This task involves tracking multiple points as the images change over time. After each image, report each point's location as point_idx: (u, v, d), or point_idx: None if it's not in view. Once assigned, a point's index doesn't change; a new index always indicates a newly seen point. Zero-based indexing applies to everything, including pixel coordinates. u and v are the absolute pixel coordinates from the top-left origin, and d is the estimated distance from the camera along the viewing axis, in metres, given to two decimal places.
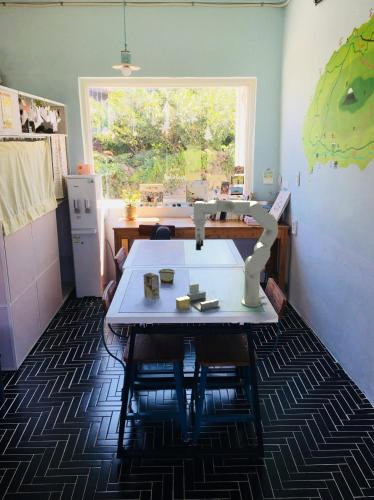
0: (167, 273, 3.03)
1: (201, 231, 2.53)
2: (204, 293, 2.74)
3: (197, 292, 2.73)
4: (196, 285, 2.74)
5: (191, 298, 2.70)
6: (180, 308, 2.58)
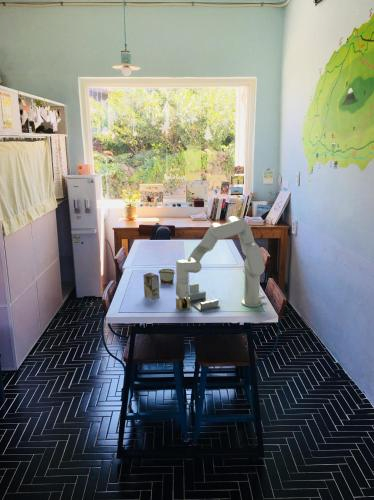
0: (167, 273, 3.03)
1: None
2: (204, 293, 2.74)
3: (197, 292, 2.73)
4: (196, 285, 2.74)
5: (191, 298, 2.70)
6: (180, 308, 2.58)
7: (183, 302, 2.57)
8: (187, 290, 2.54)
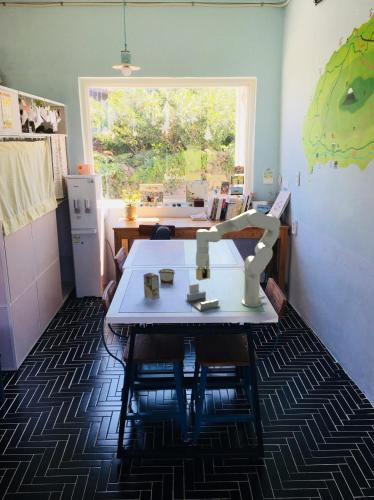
0: (167, 273, 3.03)
1: None
2: (204, 293, 2.74)
3: (197, 292, 2.73)
4: (196, 285, 2.74)
5: (191, 298, 2.70)
6: (200, 278, 2.59)
7: (203, 272, 2.57)
8: (207, 259, 2.54)
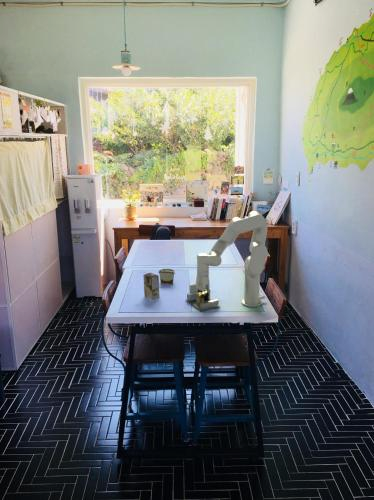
0: (167, 273, 3.03)
1: None
2: None
3: (197, 292, 2.73)
4: None
5: (191, 298, 2.70)
6: (200, 302, 2.63)
7: (205, 295, 2.60)
8: (207, 283, 2.59)
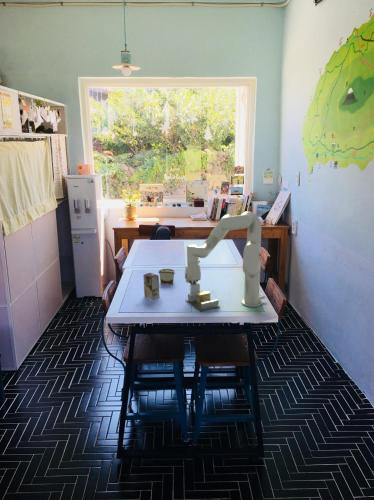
0: (167, 273, 3.03)
1: None
2: None
3: None
4: (197, 286, 2.73)
5: (192, 299, 2.69)
6: (200, 302, 2.63)
7: None
8: (186, 273, 2.70)
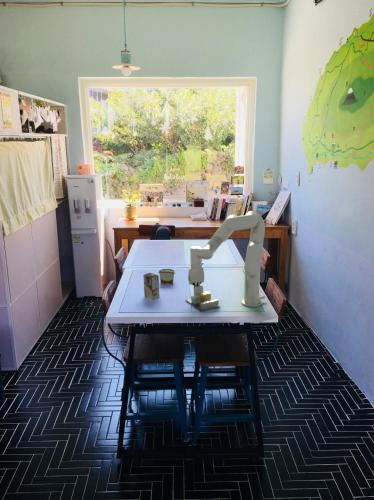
0: (167, 273, 3.03)
1: None
2: None
3: None
4: (200, 288, 2.69)
5: (195, 301, 2.65)
6: None
7: None
8: (190, 274, 2.67)
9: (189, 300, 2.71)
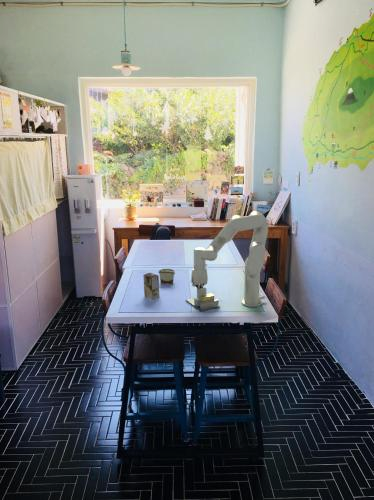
0: (167, 273, 3.03)
1: None
2: None
3: None
4: (204, 290, 2.66)
5: (199, 303, 2.61)
6: None
7: None
8: (193, 276, 2.63)
9: (189, 300, 2.71)
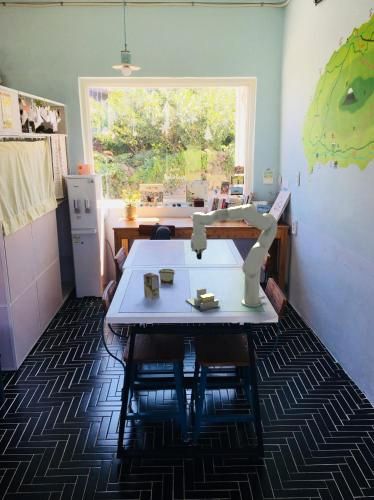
0: (167, 273, 3.03)
1: None
2: None
3: None
4: (203, 290, 2.66)
5: (198, 303, 2.61)
6: None
7: None
8: (192, 241, 2.65)
9: (189, 300, 2.71)
